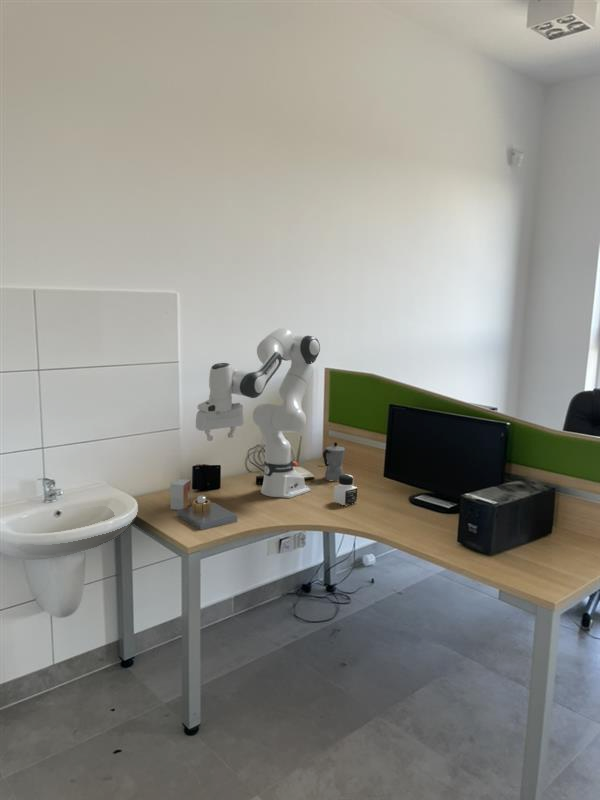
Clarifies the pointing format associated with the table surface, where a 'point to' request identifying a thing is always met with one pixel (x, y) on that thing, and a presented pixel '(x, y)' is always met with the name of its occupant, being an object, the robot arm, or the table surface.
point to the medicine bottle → (345, 490)
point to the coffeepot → (334, 461)
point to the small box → (180, 494)
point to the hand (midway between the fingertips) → (220, 438)
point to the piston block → (207, 515)
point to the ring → (201, 506)
